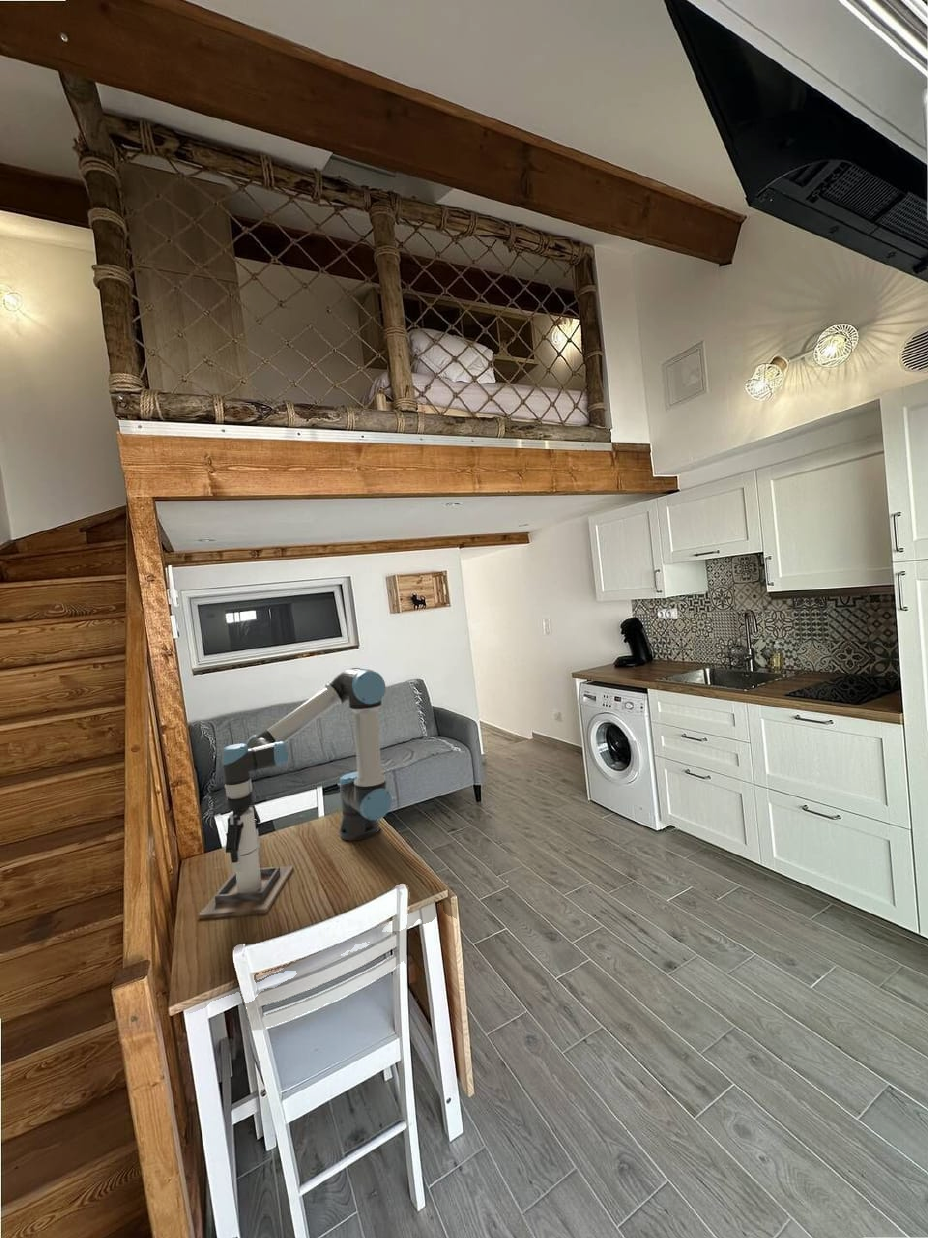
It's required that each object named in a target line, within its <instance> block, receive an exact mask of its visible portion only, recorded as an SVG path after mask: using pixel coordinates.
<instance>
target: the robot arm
mask: <svg viewBox="0 0 928 1238" xmlns="http://www.w3.org/2000/svg"><path fill="white" fill-rule="evenodd" d="M385 693H386V682H385V680H384V678H383V676H382V675H381V674H380V673H378V672H376V671H375V670H371V669H366V668H359V667H352V668H351V667H350V668H348V669H346V670H344V671H343V672H341V673H340V674H338V675H337V676H335V677H333V678H332V679H331V680H330V681H328V682H326V683H325V685H324V688H323V689H321V690H320V691H319V692H317V693H316V694H315V695H313V696H312V697H311V698H309V699H307V700H306V701H305V702H304V703H301V705H299V706H298V707H296V708H295V709H293V710H292V711H291V712H290V713H288V714H286V715H285V716H284V717H283V718H281V719H279V720H278V721H277V722H276V723H274V724H273V725H271V726H270V727H269V728H267V729H266V730H264V731H263V732H261V733H259V734H256V735H254V734H253V735H251V736H250V737H249V738H248V739H247V741H246V743H243V742H242V743H234V744H231V745H230V744H229V745H228V746H226V747H224V748H223V749H222V751H221V755H222V756H221V757H222V762H221V764H222V771H223V777H224V789H225V793H226V794H225V795H226V805H227V809H228V810H229V811H230V812H232V811H233V817H231V818H229V817H228V818H227V832H226V833H227V834H226V843H225V853H226V854H229V855H230V862H231V870H232V873H234V872H238V871H242V863H241V854H240V849H238V848H239V843H240V837H241V832H242V828H243V827H244V824H243V822H242V823H241V825H238V821H240V816H241V815H242V814H243V813H244V812H245V811H246V810H247V809H248V808H249V807H252V808H253V809H254V818H255V827H256V836H257V846H258V850H259V849H261V844H260V835H259V834H260V833H259V828H261V826H262V824H261V819H260V818H261V817H260V816H259V812H258V810H257V808H256V806H255V800H254V794H253V792H252V791H253V783H252V778H251V776H252V775H251V773H254V772H257V771H262V770H266V769H270V768H274V767H279V766H281V765H284V764H287V763H288V761H289V749H288V745H287V744H286V742H288V741H290V739H291V738H293V737H294V736H296V735H297V734H298V733H300V732H302V731H303V730H304V729H305V728H307V727H308V726H309V725H311V724H312V723H313V722H315V721H316V720H317V719H318V718H320V717H322V716H323V715H324V714H325V713H327V712H328V711H329V710H331V709H333V708H334V707H335V706H336V705H339V706H341V705H342V704H343V703H345V702H346V701H348V708H349V710H350V711H352V712H353V720H354V735H355V736H354V737H355V753H356V771H353V772H350V773H346V774H343V776H341V777H340V778H339V792H340V800H341V810H342V817H341V822H340V827H339V837H340V838H341V839H342V840H345V841H351V842H355V841H362V840H366V839H369V838H371V837H373V836H374V835H376V834H377V833H378V832H380V823H379V820H380V819H382V818H384V817H385V816H386V815H387V814H388V812H389V811H390V809H391V807H392V805H393V797H392V794H391V792H390V791H389V790H388V789H387V779H386V776H385V775H383V774H382V765H381V764H382V762H381V749H380V748H381V745H380V743H381V742H380V733H379V732H380V729H379V713H378V711H379V709H380V708H381V706H382V699H383V697H384V695H385ZM237 819H238V821H237Z"/></svg>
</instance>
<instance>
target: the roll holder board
mask: <svg viewBox="0 0 928 1238" xmlns="http://www.w3.org/2000/svg"><path fill="white" fill-rule="evenodd" d="M293 871H294V865H285V866H271V867H260V874H261V883H262V886H261V888H260V889H259V890H257V891H256V892H244V893H238V892H237V883H236V874H235V872H232V874H231V875H230V876H229V878H228V879H227V880H226V881H225V882H224V883H223V885H222V886H221V887H220V888H219V890H218V891H217V892H216V893H215V895H213V897H212V898H211V899H210V901H209V902H208V903H207V904H206V905H205V907H203V909H202V911H200V913H199V914H198V919H200V920H201V919H203V920H204V919H213V918H224V917H236V916H237V917H238V916H250V915H259V914H260V915H261V914H267V913H268V912H269V910H270V909H271V907H272V905H273V904H274V902H275V901H276V898H278V895H279V894H280V893H281V891H282V889H283V887H284V886H285V884H286V882H287V880H288V879H289V878H290V875H292V872H293Z"/></svg>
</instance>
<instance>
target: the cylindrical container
mask: <svg viewBox="0 0 928 1238" xmlns="http://www.w3.org/2000/svg"><path fill="white" fill-rule="evenodd" d="M231 817H233V811H230V813H229V814H228V818H231ZM255 820H256V819H255V818H254V809H253V808H252V807H249V808H248V809H247V810H246V811H245V812H244V813H243V814H242V815H241V816H240V821H238V819H237V821H238V825H241V823H242V822H243V824H244V827H243V828H242V832H241V837H240V843H239V848H238V849H240V854H241V863H242V871H238V872H235V874H236V883H237V892H238V893H244V892H256V891H257V890H259V889H260V888H261V886H262V883H261V874H260V868H261V866H260V856H259V855H260V854H259V849H258V846H257V836H256V827H255Z"/></svg>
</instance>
